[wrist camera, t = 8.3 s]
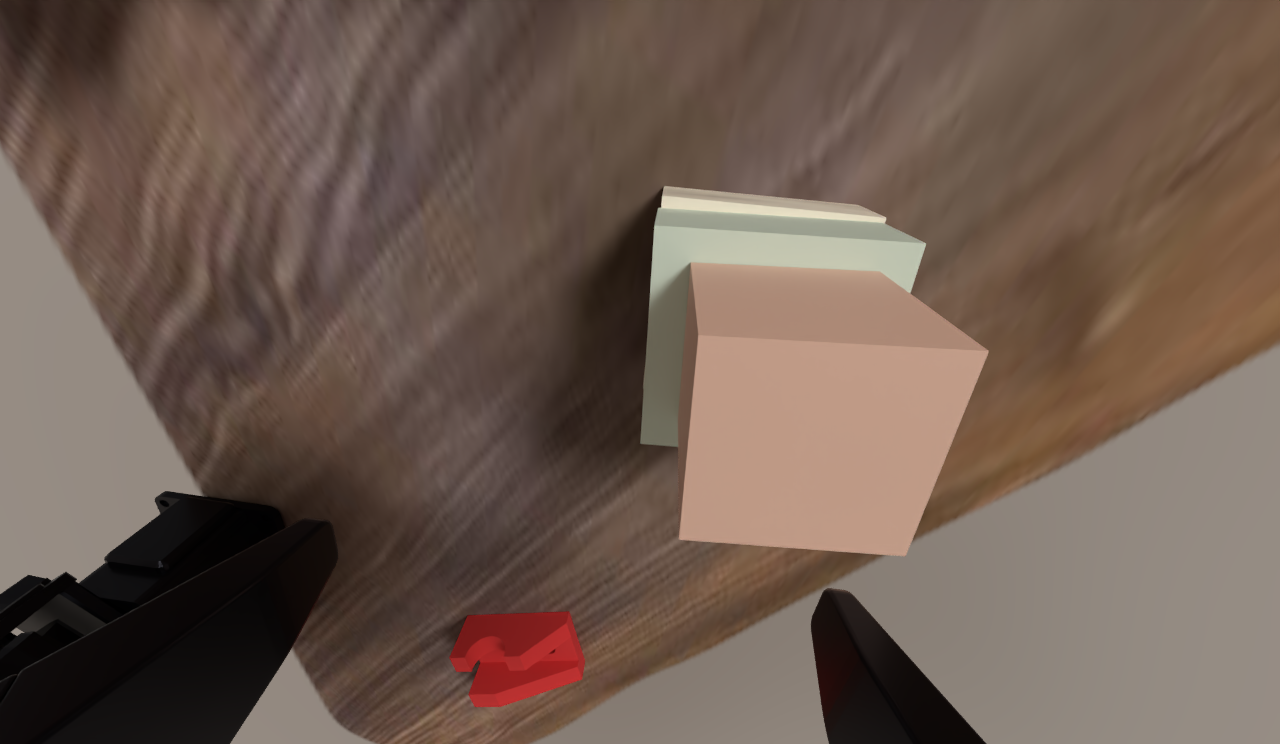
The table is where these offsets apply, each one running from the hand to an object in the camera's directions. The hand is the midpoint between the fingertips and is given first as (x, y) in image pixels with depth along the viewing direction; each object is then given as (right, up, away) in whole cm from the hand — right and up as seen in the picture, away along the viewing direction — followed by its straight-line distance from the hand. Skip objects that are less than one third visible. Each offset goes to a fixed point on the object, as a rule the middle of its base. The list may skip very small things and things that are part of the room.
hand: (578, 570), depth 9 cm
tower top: (+5, +5, +8) cm, 11 cm away
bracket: (-6, -13, +22) cm, 26 cm away
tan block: (+5, +4, +5) cm, 8 cm away
